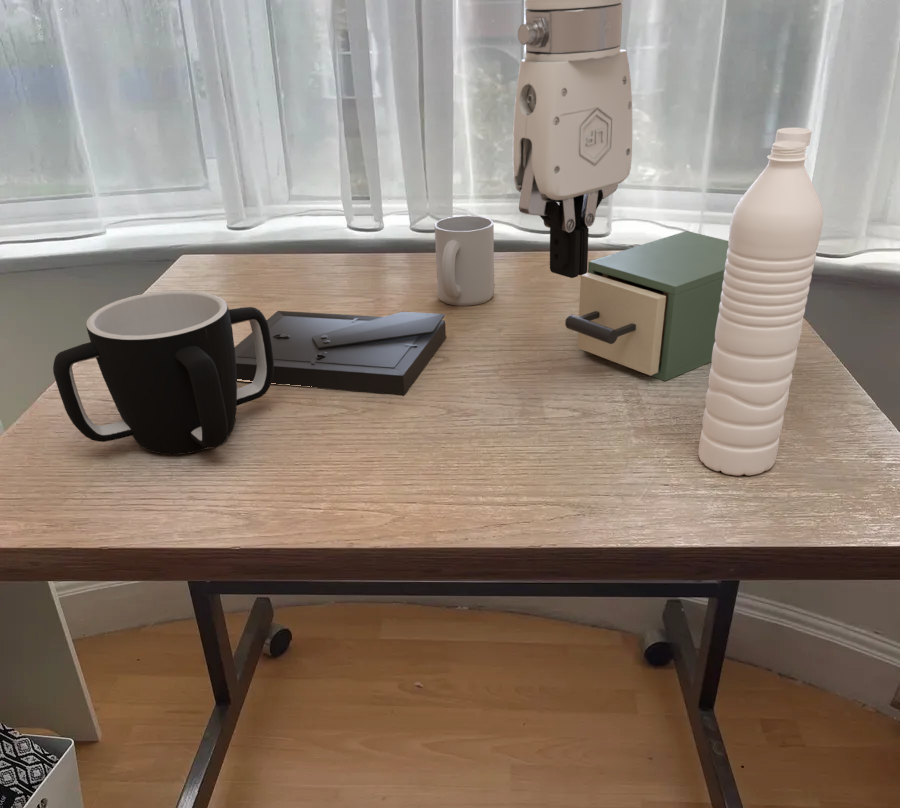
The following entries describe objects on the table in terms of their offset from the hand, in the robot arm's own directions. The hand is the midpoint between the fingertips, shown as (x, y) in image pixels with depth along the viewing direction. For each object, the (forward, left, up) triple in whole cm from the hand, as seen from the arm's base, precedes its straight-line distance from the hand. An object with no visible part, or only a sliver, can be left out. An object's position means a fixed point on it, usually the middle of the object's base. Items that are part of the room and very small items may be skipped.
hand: (568, 272), depth 81 cm
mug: (+19, +31, -13) cm, 39 cm away
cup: (+30, -12, -13) cm, 35 cm away
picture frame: (+25, +10, -13) cm, 30 cm away
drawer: (+2, -14, -12) cm, 19 cm away
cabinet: (+2, -19, -13) cm, 23 cm away
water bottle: (-18, -4, -13) cm, 22 cm away
